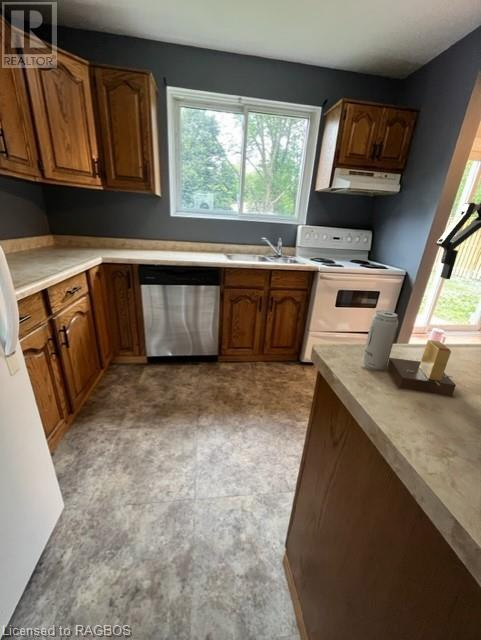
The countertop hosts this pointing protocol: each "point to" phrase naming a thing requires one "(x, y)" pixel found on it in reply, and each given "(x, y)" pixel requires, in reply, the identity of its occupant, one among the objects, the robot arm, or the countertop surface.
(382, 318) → the energy drink can
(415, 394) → the countertop surface
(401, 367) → the plate
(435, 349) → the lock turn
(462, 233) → the robot arm
